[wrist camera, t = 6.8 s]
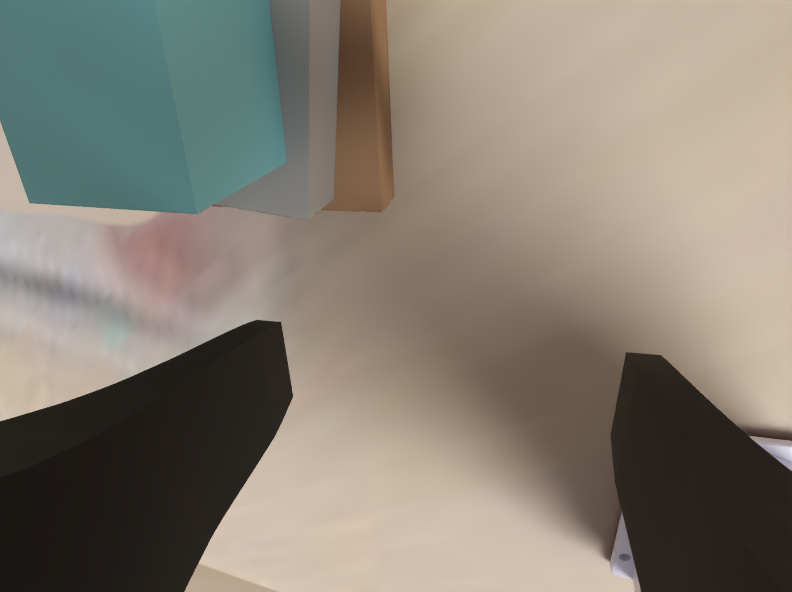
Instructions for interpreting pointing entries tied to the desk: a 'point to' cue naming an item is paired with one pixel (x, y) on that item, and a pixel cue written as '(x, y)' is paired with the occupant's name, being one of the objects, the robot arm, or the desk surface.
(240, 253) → the desk surface
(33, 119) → the teal block
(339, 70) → the walnut slab
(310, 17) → the gray slab
